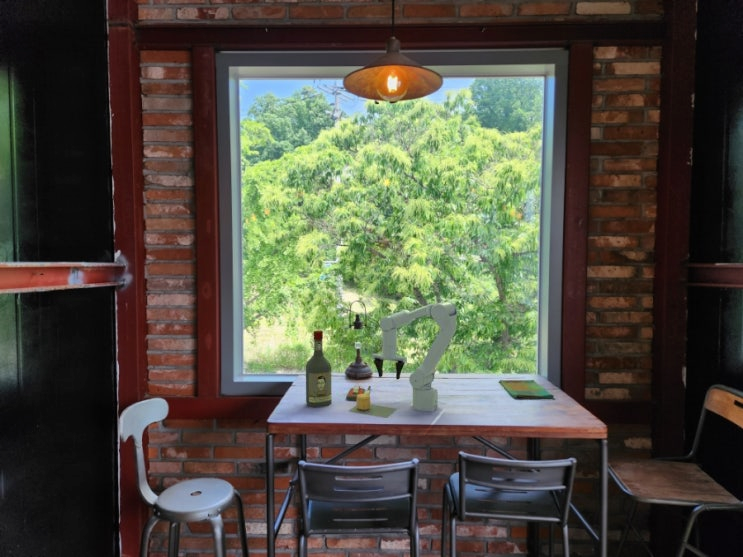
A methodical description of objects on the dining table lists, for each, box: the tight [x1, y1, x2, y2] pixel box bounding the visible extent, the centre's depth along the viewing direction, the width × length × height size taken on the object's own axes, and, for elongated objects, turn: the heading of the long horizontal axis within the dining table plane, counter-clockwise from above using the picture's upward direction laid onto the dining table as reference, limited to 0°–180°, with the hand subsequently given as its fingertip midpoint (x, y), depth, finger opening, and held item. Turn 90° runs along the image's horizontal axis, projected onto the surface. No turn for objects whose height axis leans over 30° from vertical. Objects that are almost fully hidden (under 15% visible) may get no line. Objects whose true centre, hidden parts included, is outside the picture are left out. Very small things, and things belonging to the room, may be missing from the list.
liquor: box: [305, 330, 333, 409], centre depth 172 cm, size 9×9×30 cm
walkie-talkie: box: [345, 385, 372, 402], centre depth 185 cm, size 9×4×20 cm
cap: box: [356, 393, 371, 410], centre depth 167 cm, size 5×5×4 cm
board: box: [348, 403, 398, 419], centre depth 166 cm, size 16×10×1 cm, turn 65°
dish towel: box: [498, 379, 555, 400], centre depth 192 cm, size 17×23×2 cm
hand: (389, 377), depth 177 cm, fingers open, 7 cm apart
